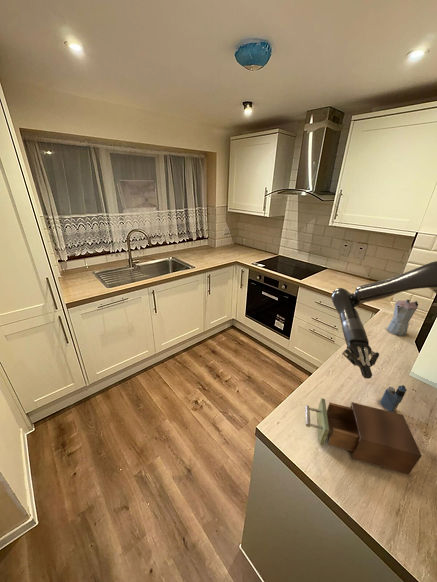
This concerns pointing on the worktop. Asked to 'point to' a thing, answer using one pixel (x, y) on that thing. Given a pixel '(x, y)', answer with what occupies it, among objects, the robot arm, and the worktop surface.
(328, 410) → the drawer
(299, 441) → the worktop surface
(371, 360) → the robot arm
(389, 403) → the vaping device
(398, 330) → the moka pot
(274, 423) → the worktop surface
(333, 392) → the worktop surface
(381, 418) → the cabinet
